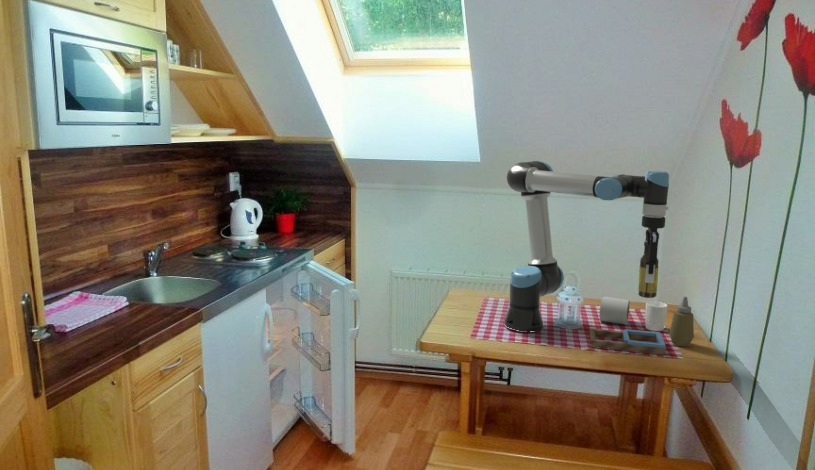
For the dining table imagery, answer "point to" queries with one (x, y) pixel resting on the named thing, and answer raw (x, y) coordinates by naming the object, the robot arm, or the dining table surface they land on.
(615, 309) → the toilet paper
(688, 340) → the squeeze bottle
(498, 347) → the dining table surface
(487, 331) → the dining table surface
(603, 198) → the robot arm
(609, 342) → the caddy
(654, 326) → the white cup
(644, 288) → the sauce bottle
